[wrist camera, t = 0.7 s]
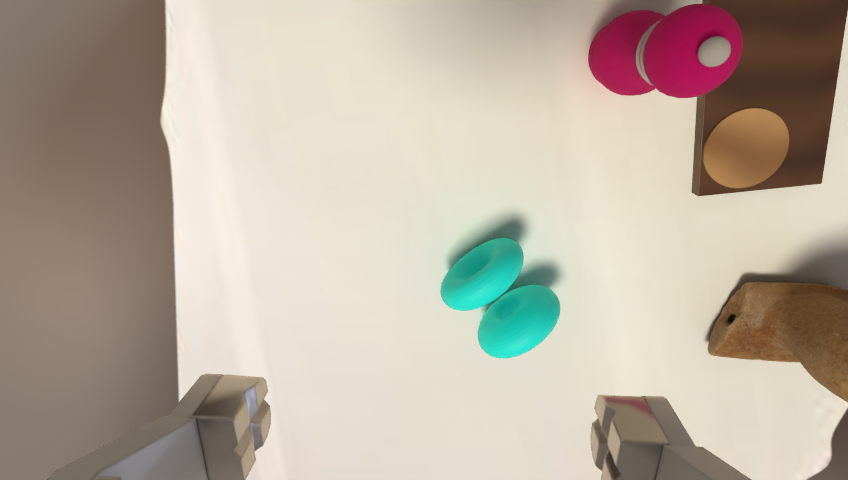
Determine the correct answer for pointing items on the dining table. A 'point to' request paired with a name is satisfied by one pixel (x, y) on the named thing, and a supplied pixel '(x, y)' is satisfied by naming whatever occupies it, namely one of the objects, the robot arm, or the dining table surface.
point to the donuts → (501, 298)
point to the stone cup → (788, 329)
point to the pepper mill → (667, 51)
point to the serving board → (771, 98)
